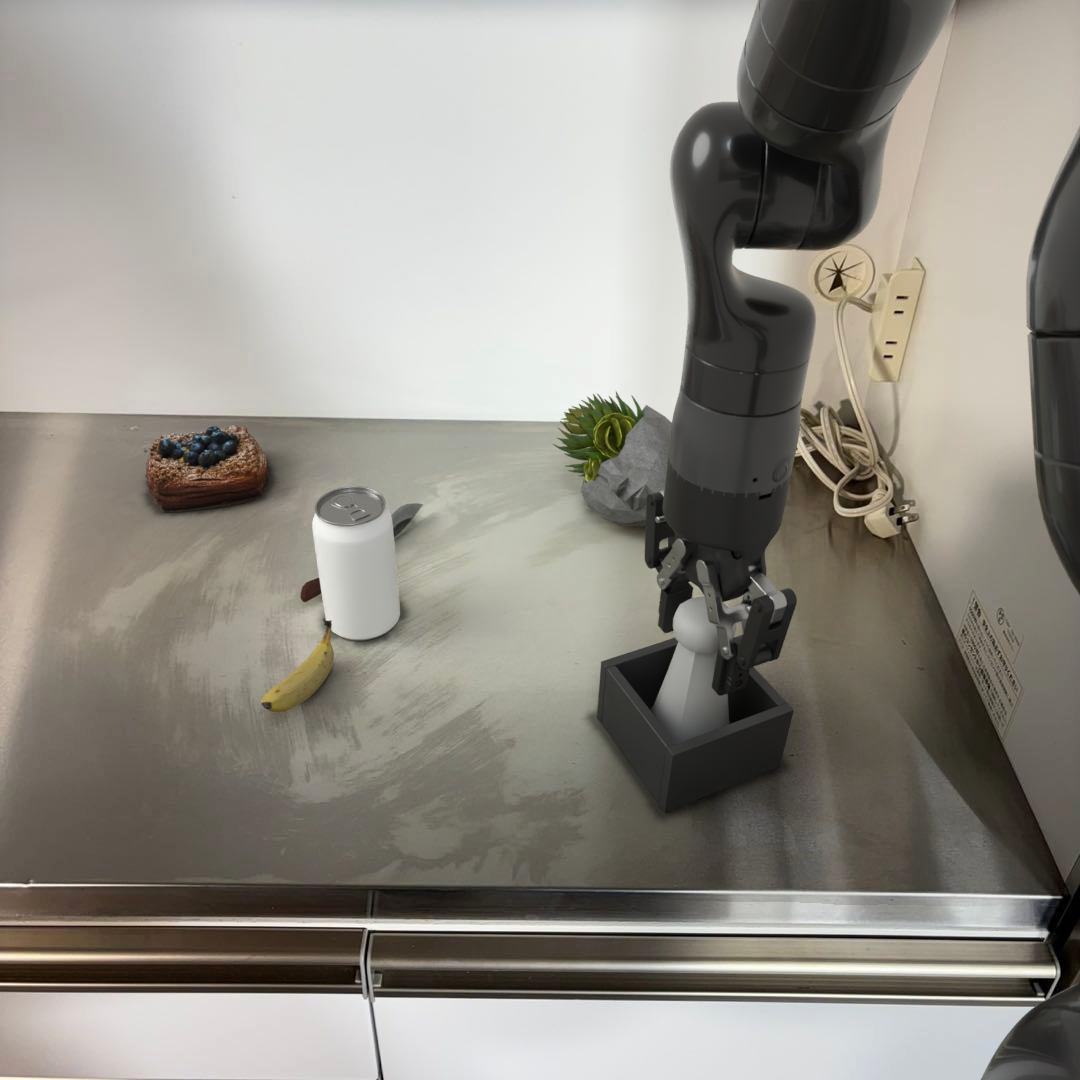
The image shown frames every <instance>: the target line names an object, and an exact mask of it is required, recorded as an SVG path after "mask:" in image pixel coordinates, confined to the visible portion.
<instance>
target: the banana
mask: <svg viewBox="0 0 1080 1080" xmlns="http://www.w3.org/2000/svg"><path fill="white" fill-rule="evenodd" d="M322 622H324V624H323V625H324V626H326V628H325V633H324V634H323V637H322V639H321V641H320V642H319V643H318V644H317V646H316V647H315V648H314V650H312V652H311V653H310V654H309V656H308V657H307V658H306V659H304V660H303V662H301V664H300V665H298V667H296V668H295V669H294V670H293V671H292V672H291V673H290V674H289V675H288V676H287V677H286V678H285V679H283V680H281V681H280V682H279V683H277V684H276V685H274V686H273V687H272V688H271V689H270V690H268V691H267V692H266V693H265V694H264V695H263V697H262V699H261V701H260V704H261V706H262V707H263V708H264V709H266V710H267V711H270V712H272V713H284V712H286V711H289V710H292V709H293V708H295V707H297V706H299V705H301V704H302V703H303V702H304V701H306V700H308V699H309V698H310V697H311V696H312V695H313V694H314V693H315V692H316V691H317V690H318V689H319V688H320V687H321V686H322V684H323V683H324V682H325V680H327V678H328V675H329V674H330V672H331V670H332V667H333V663H334V659H335V658H334V656H335V654H334V649H333V645H332V642H331V637H332V636H331V635H332V631H331V626H332V624H331V622H332V620H330V621H327V620H326V618H323V619H322Z"/></svg>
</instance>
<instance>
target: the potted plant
mask: <svg viewBox="0 0 1080 1080" xmlns="http://www.w3.org/2000/svg"><path fill="white" fill-rule="evenodd" d="M596 395H597V396H596ZM592 396H593V399H592V398H591V397H589V396H586V398H587V400H588V401H586V400H583V399H580V401H581V402H582V403H583V404H585V405H583V404H580V403H578V406H579V407H578V406H571V408H567V410H568V412H566V411H563V414H564V416H565V417H563V418H560V420H559V423H561V424H562V425H563V427H564V429H566V431H565V430H563V429H561V428H560V427H558V426H556V428H557V429H558V430H559V432H561V433H562V435H564V436H565V437H566V438H563V437H562V438H561V437H556V439H557V440H559V441H560V442H561V443H562V444H563V445H562V446H561V445H557V444H555V443H552V445H553V446H554V447H555V448H557V449H559V450H561V451H562V452H564V455H565V456H567V457H570V458H572V459H575V460H578V461H584V462H580V463H573V464H567V465H564V467H566V468H573V469H567V472H571V473H576V474H577V476H578V477H582V478H583V481H582V484H581V488H580V492H581V495H582V498H583V500H584V503H585V504H586V505H587V507H588V508H589V509H590V510H592V511H594V512H595V513H597V514H598V515H600V516H601V517H603V519H605V520H607V521H609V522H611V523H613V524H614V525H617V526H619V527H646V505H647V496H648V494H652V493H655V492H659V491H663V490H664V489H665V480H666V471H667V463H668V454H669V446H670V436H671V427H672V421H671V420H670V419H668V418H667V416H666V415H663V414H662V413H660V412H658V411H657V410H655V409H653V408H652V407H651V406H650V405H648V404H645V405H644V407H643V408H641V406H640V404H639V403H638V401H637V400H636V398H635V397H634V396H633V395H632V394H631V395H630V396H631V398H632V400H633V403H634V406H635V408H636V413H635V412H634V411H633V409H632V408H631V407H630V406H629V404H627V403H626V402H625V401H623V399H622V398H621V397H620V395H619V393H618V392H617V391H615V398H616V400H617V402H618V404H617V402H616V401H615V400H614V399H613V397H611V396H610V395H608V398H609V400H607V399H606V398H602V397H601V395H600V394H599V393H596V394H594V393H592Z"/></svg>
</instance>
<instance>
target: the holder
mask: <svg viewBox="0 0 1080 1080" xmlns="http://www.w3.org/2000/svg"><path fill="white" fill-rule="evenodd" d="M677 644H678V641H677V640H676V638H675V637H672V638H669V639H665V640H663V641H660V642H656V643H653V644H651V645H650V644H649V645H647V646H645V647H641V648H638V649H635V650H633V651H628V652H626V653H623V654H620V655H617V656H613V657H610V658H607V659H604V660H602V661H600V671H599V682H598V683H599V686H598V697H597V699H598V700H597V712H596V719H597V720H598V721H599V723H600V724H601V725H602V727H603V728H604V729H605V731H606V733H607V734H608V735H609V736H610V738H611V739H612V741H613V742H614V743H615V745H616V746H617V748H618V749H619V751H620V752H621V754H622V755H623V756H624V758H625V759H626V760H627V762H628V764H629V765H630V766H631V767H632V769H633V770H634V772H635V773H636V774H637V776H638V777H639V779H640V780H641V781H642V783H643V785H644V786H645V787H646V789H647V790H648V791H649V793H650V794H651V795H652V797H653V799H654V800H655V801H656V803H657V804H658V805H659V807H660V809H661V810H662V812H663V813H665V814H666V813H668V812H671V811H673V810H675V809H678V808H680V807H683V806H685V805H688V804H691V803H693V802H695V801H698V800H700V799H703V798H706V797H708V796H711V795H713V794H716V793H718V792H721V791H723V790H726V789H728V788H730V787H733V786H735V785H738V784H740V783H742V782H745V781H748V780H751V779H753V778H755V777H758V776H760V775H763V774H766V773H768V772H771V771H773V770H775V769H778V768H780V767H781V765H782V762H783V757H784V753H785V749H786V745H787V740H788V737H789V733H790V730H791V724H792V721H793V716H794V712H795V709H794V708H793V707H792V706H791V704H789V703H788V701H787V700H785V698H784V697H783V696H782V695H781V694H780V693H779V692H778V691H777V690H776V688H774V687H773V686H772V684H771V683H769V682H768V680H767V679H766V678H764V676H763V675H762V674H761V673H760V672H759V671H758V670H757V669H756V668H755V666H754V667H753V668H750V671H749V676H748V678H747V679H748V681H747V685H746V686H745V687H744V688H743V689H740V690H737V691H734V692H732V693H729V694H728V709H729V725H726V726H723V727H721V728H718V729H715V730H713V731H710V732H707V733H704V734H702V735H699V736H696V737H694V738H691V739H688V740H686V741H683V742H680V743H678V744H676V743H675V742H674V740H673V739H672V738H671V736H670V735H669V734H668V733H667V731H666V730H665V729H664V727H663V726H662V725H661V724H660V722H659V721H658V720H657V718H656V717H655V716H654V715H653V713H652V712H651V711H652V710H651V709H650V708H653V706H654V704H655V701H656V699H657V696H658V694H659V691H660V689H661V686H662V684H663V681H664V679H665V676H666V674H667V671H668V669H669V666H670V663H671V661H672V658H673V655H674V652H675V650H676V647H677Z"/></svg>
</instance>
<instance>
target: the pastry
mask: <svg viewBox="0 0 1080 1080" xmlns="http://www.w3.org/2000/svg"><path fill="white" fill-rule="evenodd" d="M148 449H149V451H150V452H149V454H148V457H147V460H146V463H145V465H146V466H145V470H146V472H145V473H146V475H145V478H146V484H147V488H148V490H149V492H150V494H151V498H152V501H153V503H154V504H155V506H156V507H157V508H158V509H159V510H160V511H161V512H162V513H163V512H164V513H182V512H191V511H199V510H208V509H215V508H222V507H228V506H236V505H240V504H244V503H249V502H251V501H255V500H257V499H259V498H260V497H261V495H263V494H264V492H265V491H266V489H267V488H268V485H269V474H268V471H269V467H268V460H267V456H266V454H265V452H264V451H263V448H262V447H261V445H259V443H258V441H257V440H256V439H255V437H254V436H252V434H251V433H249V431H248V428H247V427H246V426H242V427H241V426H237V425H236V424H233V425H229V426H224V427H223V428H220V427H218V426H216V425H212V426H209V427H207V428H206V430H205V431H191V432H190V433H189V432H188V433H183V432H181V433H178V434H177V433H175V432H172V433H169V434H166V433H165V434H160V437H159V438H158V439H154V441H153V442H152V444H151V445H150V446H149V448H148Z"/></svg>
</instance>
